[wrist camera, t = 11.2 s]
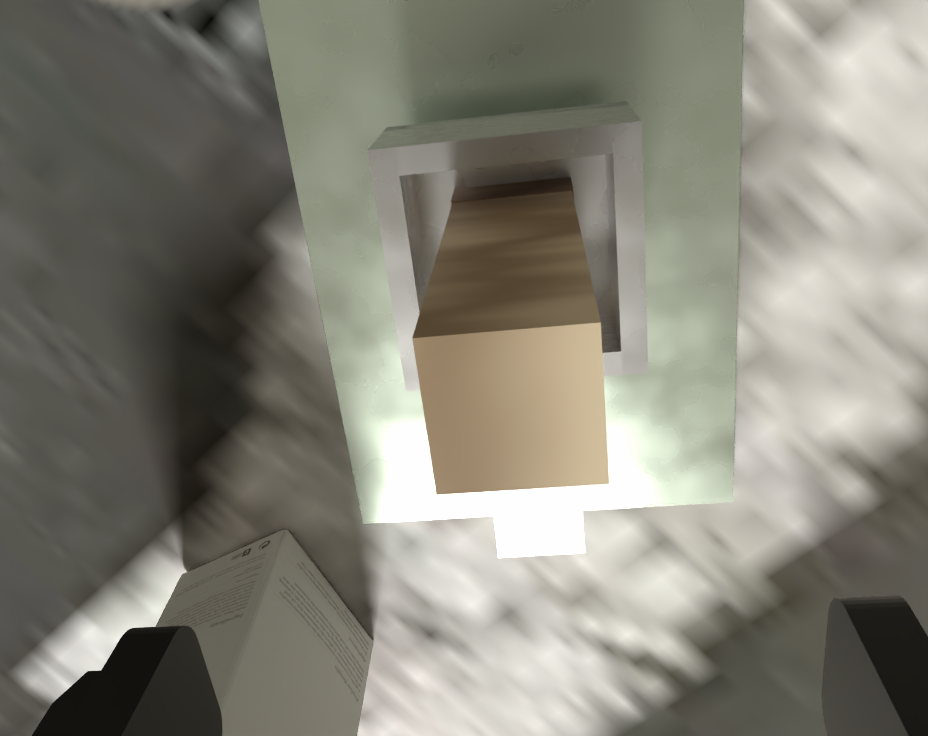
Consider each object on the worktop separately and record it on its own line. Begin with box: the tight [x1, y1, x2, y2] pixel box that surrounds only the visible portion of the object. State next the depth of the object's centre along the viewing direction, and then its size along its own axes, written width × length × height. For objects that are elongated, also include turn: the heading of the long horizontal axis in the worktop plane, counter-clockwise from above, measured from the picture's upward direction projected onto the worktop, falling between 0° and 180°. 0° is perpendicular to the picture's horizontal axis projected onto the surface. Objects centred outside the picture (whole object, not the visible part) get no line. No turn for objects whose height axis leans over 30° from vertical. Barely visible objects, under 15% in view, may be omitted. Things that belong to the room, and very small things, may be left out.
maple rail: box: [412, 177, 609, 495], centre depth 22 cm, size 4×4×12 cm
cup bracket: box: [259, 0, 744, 558], centre depth 30 cm, size 16×22×8 cm
